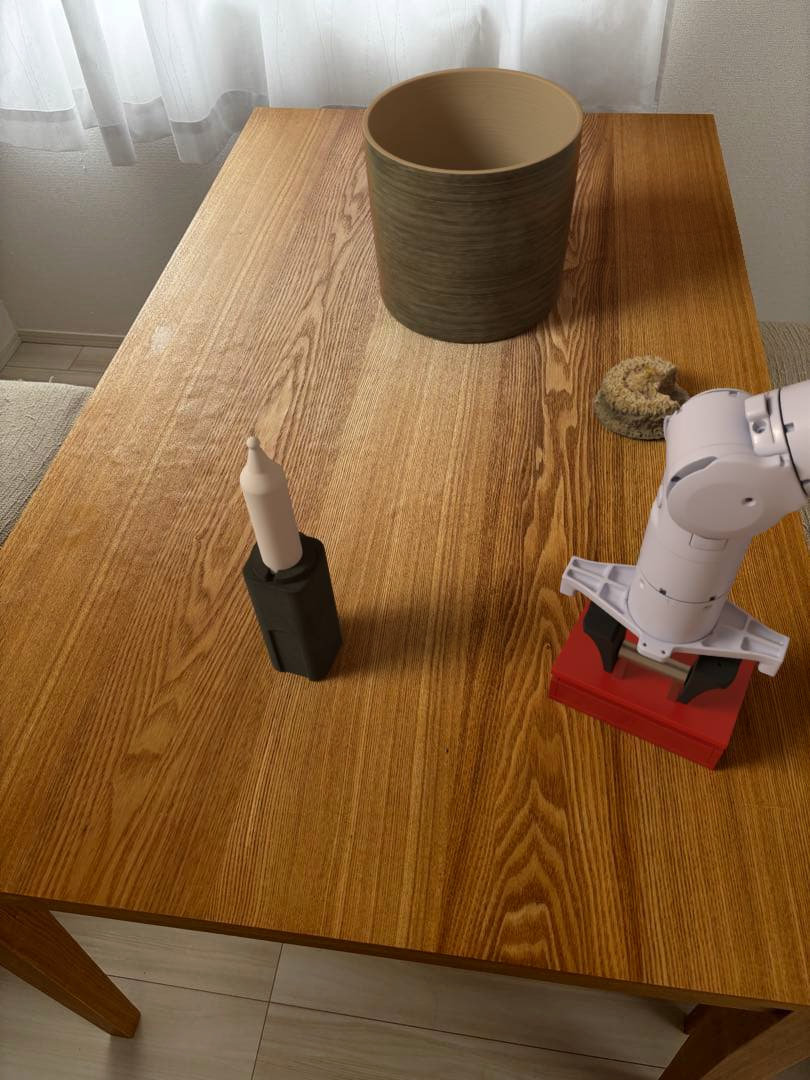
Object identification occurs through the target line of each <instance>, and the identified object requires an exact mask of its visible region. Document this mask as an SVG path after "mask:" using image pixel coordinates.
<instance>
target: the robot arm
mask: <svg viewBox="0 0 810 1080" xmlns="http://www.w3.org/2000/svg"><path fill="white" fill-rule="evenodd" d="M690 398H691V399H689V400H688V401H687V402H686V403H684V404H683V405H682V407H681V409H680V410H679V411H678V410H676V411H675V412H674V414H673V415H668V416H666V417H665V419H664V436H665V437H664V440H665V450H666V451H665V468H664V473H663V477H662V479H661V480H662V481H661V483H660V485H659V487H658V489H657V493H656V496H655V498H654V501H653V503H652V506H651V509H650V514H649V517H648V521H647V525H646V528H645V532H644V535H643V539H642V543H641V547H640V550H639V554H638V558H637V561H636V565H634V564H624V563H613V562H612V563H611V562H601V561H595V560H594V561H593V560H589V559H586V558H582V557H579V556H576V555H572V557H571V559H570V560H569V563H568V564H567V566H566V568H565V570H564V572H563V573H562V576H561V582H560V587H559V588H560V589H559V593H561V594H563V595H565V596H568V597H572V598H574V597H575V596H577V595H578V592H579V593H581V594H582V595H584V596H585V597H586V598H588V600H589V599H591V601H590V605H589V608H588V611H587V613H586V615H585V617H584V619H583V631H584V633H586V634H587V635H588V636H589V637H590V638H591V639H592V640H593V641H594V643H595V644H596V646H597V648H598V650H599V653H600V656H601V659H602V664H603V670H604V671H606V672H608V673H611V674H612V672H613V670H614V668H615V665H616V663H617V661H618V659H619V658H618V657H617V653H618V650H619V648H620V645H621V643H622V641H623V640H624V639H625V637H626V632H627V629H629V630H630V631H631V632H632V633H634V634H635V635H636V636H637V637H638V638H639V642H638V645H637V650H638V652H639V653H640V654H642V655H644V656H646V657H649V658H651V659H654V660H656V661H659V662H667V661H668V660H669V658H670V656H671V654H672V653H674V652H680V653H690V654H699V655H698V657H697V658H696V660H695V662H694V664H693V665H692V668H691V671H690V673H689V676H688V678H687V681H686V683H685V685H684V686H683V688H682V691H681V693H680V696H679V698H678V701H677V702H680V703H682V704H684V705H687V704H688V703H689V702H690V701H691V700H692V699H693V698H695V697H696V696H698V695H700V694H701V693H703V692H706V691H708V690H712V689H726V688H727V687H729V686H730V685H731V684H732V682H733V681H734V680H735V677H736V675H737V672H738V670H739V667H740V664H741V662H742V660H743V659H748V660H754V661H756V662H757V663H758V664H757V665H758V666H757V670H758V671H759V672H761V673H763V674H765V675H767V676H770V677H772V678H773V677H776V674H777V673H778V671H779V670H780V667H781V666H782V664H783V662H784V660H785V657H786V653H787V651H788V648H789V644H790V641H791V637H790V636H787V635H784V634H782V633H780V632H778V631H776V630H774V629H772V628H771V627H769V626H767V625H766V624H764V623H762V622H761V621H760V620H758V619H757V618H756V617H754V616H753V615H751V614H749V612H747V611H746V610H744V609H742V608H741V607H740V606H739V605H737V604H736V603H735V602H733V601H732V600H731V599H729V598H728V596H729V594H730V592H731V590H732V587H733V585H734V583H735V581H736V578H737V575H738V573H739V571H740V568H741V566H742V565H743V564H742V563H743V561H744V559H745V556H746V554H747V551H748V550H749V547H750V545H751V542H752V541H753V538H754V537H755V536H758V535H760V534H762V533H765V532H766V531H768V530H771V528H773V527H774V526H775V525H777V524H778V523H779V522H780V521H781V520H782V519H783V518H784V517H786V516H787V515H789V514H791V513H795V512H799V511H802V508H803V507H806V506H808V499H809V498H810V379H805V380H803V381H802V380H801V381H798V382H796V383H792V384H789V385H786V386H783V387H779V388H775V389H771V390H768V391H765V392H762V393H758V394H755V395H754V394H752V393H750V392H749V391H746V390H742V389H738V388H733V387H732V388H730V387H717V388H713V389H708V390H705V391H702V392H699V393H697V394H696V395H694V396H692V397H690Z"/></svg>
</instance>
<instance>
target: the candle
mask: <svg viewBox="0 0 810 1080" xmlns="http://www.w3.org/2000/svg"><path fill="white" fill-rule="evenodd" d="M245 443H246V446H247V448H248V453H247V458H246V464H245V466H244V467H243V468H242V470H241V472H240V474H239V484H240V488H241V491H242V494H243V498H244V501H245V505H246V508H247V513H248V516H249V519H250V522H251V525H252V529H253V532H254V535H255V539H256V542H255V543H254V544H253V545H252V548H251V550H250V555H249V556H248V558H247V560H246V562H245V563H244V566H243V567H242V571H241V572H242V577H243V580H244V583H245V586H246V590H247V592H248V596H249V598H250V602H251V605H252V608H253V611H254V614H255V616H256V619H257V623H258V625H259V629H260V632H261V634H262V637H263V640H264V643H265V646H266V649H267V652H268V653H267V654H268V656H269V659H270V662H271V665H272V667H273V669H274V670H276V671H277V672H279V673H283V672H287V673H290V674H293V675H297V676H300V677H304V678H307V679H308V681H309V682H319V681H322V680H324V679H326V678H327V677H328V676H329V674H330V672H331V670H332V668H333V665H334V664H335V661H336V659H337V657H338V654H339V652H340V650H341V648H342V646H343V643H344V641H343V640H344V639H343V634H342V629H341V624H340V618H339V614H338V609H337V604H336V598H335V592H334V588H333V584H332V583H333V582H332V578H331V573H330V568H329V562H328V558H327V552H326V548H325V545H324V543H323V541H322V540H320V539H319V538H316V537H313V536H309V535H306V534H305V533H304V532H302V531H300V530H299V528H298V524H297V520H296V516H295V512H294V511H295V510H294V508H293V502H292V498H291V495H290V489H289V486H288V485H289V484H288V481H287V476H286V473H285V470H284V468H283V466H282V465H281V464H280V463H279V462H277V461H275V460H274V459H271V458H270V457H269V456H268V455H267V453H266V452H265V451H264V450H263V448H262V447H261V440H260V438H259V437H257V436H254V435H252V436H249V437H248V438H247V439H246V442H245Z"/></svg>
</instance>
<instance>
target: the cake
mask: <svg viewBox="0 0 810 1080" xmlns="http://www.w3.org/2000/svg"><path fill="white" fill-rule="evenodd" d="M678 371H679V370H678V366H677V365H674V363H673V362H672V361H670V360H665V359H664V357H662V356H659V355H658V356H656V357H655V355H651V354H649V355H648V354H646V355H644V356H639V355H636V356H634V357H633V358H631V357H629V358H628V359H625V360H621V361H620V362H619V363H618V364H615V365H614V366H613V367H612V368H611V369H610V370H608V371H607V372H606V374H605V376H604V377H603V381H602V383H601V387H600V389H599V390H598V391H597V393H596V394H595V395H594V400H593V406H592V407H593V410H594V413H595V415H596V418H597V420H599V422H600V423H601V424H602V425H603V426H604V427H606V429H608V430H611V431H612V432H613V433H616V434H619V435H621V436H624V437H627V438H631V439H637V440H653V439H656V440H659V439H665V436H664V419H665V417H666V416H668V415H673V414H674V412H675V411H676V410H678V411H679V410H680V409H681V407H682V405H683V404H684V403H686V402H687V401H688V400H689V399H691V398H692V397H691V396H690V395H689V393H688V392H687V391H686V390H685V389H684V388H683V387H681V386H680V385H679V384H678V383H677V382H678V381H679V378H678V377H677V376H678V374H677V373H678Z"/></svg>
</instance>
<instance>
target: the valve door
mask: <svg viewBox="0 0 810 1080" xmlns="http://www.w3.org/2000/svg"><path fill="white" fill-rule="evenodd" d="M590 601H591V599H589V598H588V600H587V601H586V604H585V606H584V607H583V609H582V611H581V613H580V615H579V616H578V619H577V620H576V622H575V624H574V626H573V628H572V630H571V631H570V633H569V635H568V637H567V639H566V641H565V642H564V644H563V646H562V648H561V650H560V652H559V654H558V656H557V657H556V659H555V661H554V663H553V665H552V666H551V669H550V674H551V675H552V676H553V675H555V676H557V677H559V678H562V679H564V680H566V681H569V682H571V683H573V684H576V685H578V686H580V687H583V688H585V689H587V690H589V691H592V692H594V693H596V694H599V695H601V696H603V697H606V698H608V699H610V700H613V701H615V702H617V703H619V704H622V705H624V706H626V707H629V708H631V709H633V710H636V711H638V712H640V713H643V714H645V715H647V716H649V717H652V718H654V719H656V720H659V721H661V722H663V723H666V724H668V725H670V726H673V727H675V728H677V729H679V730H682V731H684V732H686V733H689V734H691V735H693V736H696V737H698V738H700V739H703V740H705V741H707V742H709V743H712V744H714V745H716V746H719V747H721V748H723V749H724V750H727V748H728V746H729V744H730V740H731V738H732V735H733V731H734V729H735V725H736V723H737V719H738V717H739V714H740V710H741V708H742V704H743V701H744V698H745V695H746V693H747V689H748V686H749V683H750V680H751V677H752V674H753V670H754V667H755V666H756V662H757V661H754V660H748V659H743V660H742V662H741V664H740V667H739V670H738V672H737V675H736V677H735V680H734V681H733V682H732V684H731V685H730V686H729V687H727V688H726V689H712V690H708V691H706V692H703V693H701V694H700V695H698V696H696V697H695V698H693V699H692V700H691V701H690V702H689V703H688V704H687V705H684V704H682V703H680V702H677V701H678V698H679V696H680V693H681V691H682V688H683V686H684V685H685V683H686V681H687V678H688V676H689V673H690V671H691V668H692V665H693V664H694V662H695V660H696V658H697V657H698V655H699V654H690V653H680V652H674V653H672V654H671V656H670V658H669V660H668V661H667V662H659V661H656V660H654V659H651V658H649V657H646V656H644V655H642V654H640V653H639V652H638V650H637V645H638V642H639V638H638V637H637V636H636V635H635V634H634V633H632V632H631V631H630V630H629V629H627V632H626V637H625V639H624V640H623V641H622V643H621V645H620V648H619V650H618V653H617V657H618V658H619V659H618V661H617V663H616V665H615V668H614V670H613V672H612V674H611V673H608V672H606V671H604V670H603V664H602V659H601V656H600V653H599V650H598V648H597V646H596V644H595V643H594V641H593V640H592V639H591V638H590V637H589V636H588V635H587V634H586V633H584V631H583V619H584V617H585V615H586V613H587V611H588V608H589V605H590Z"/></svg>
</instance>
